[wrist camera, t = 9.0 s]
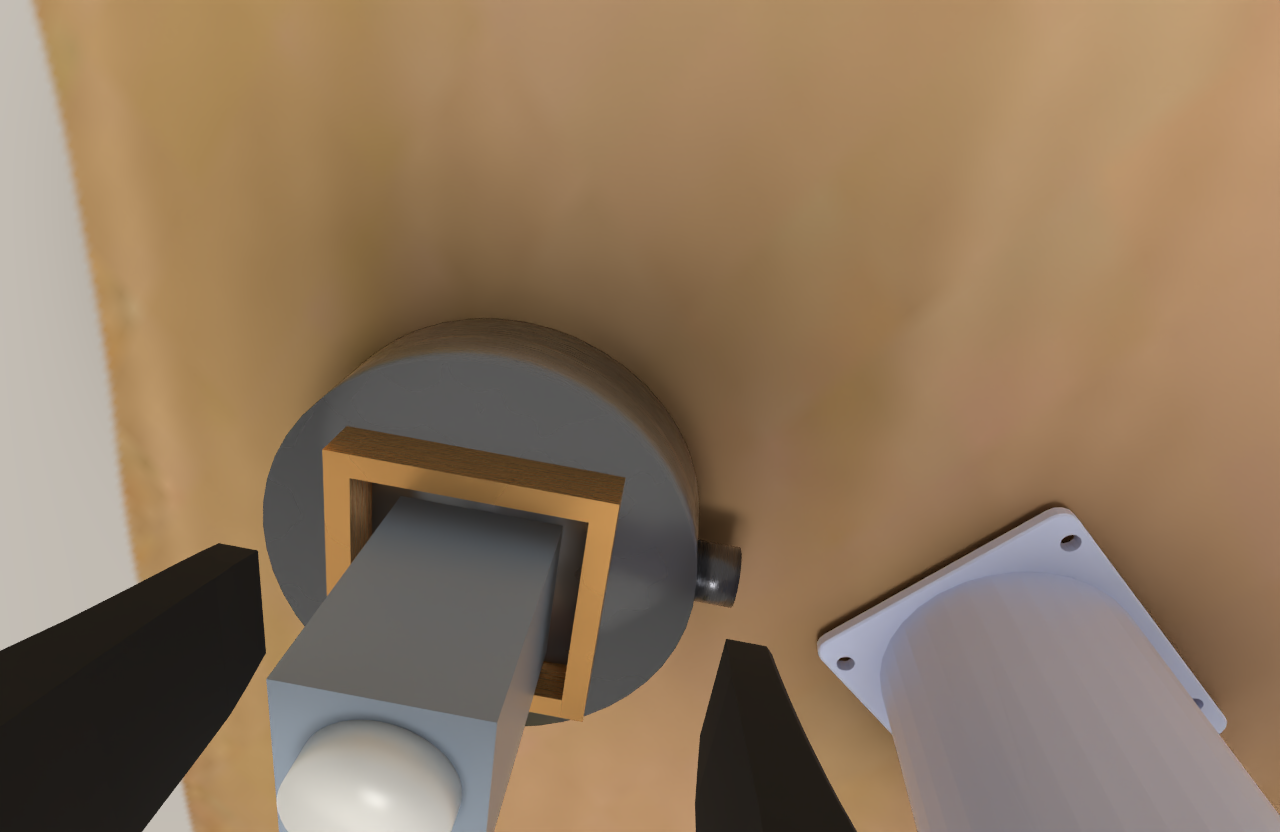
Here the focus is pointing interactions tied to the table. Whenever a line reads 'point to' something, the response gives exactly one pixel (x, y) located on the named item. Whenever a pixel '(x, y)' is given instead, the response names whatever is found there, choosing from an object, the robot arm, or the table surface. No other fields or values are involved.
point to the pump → (415, 675)
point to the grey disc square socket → (511, 490)
